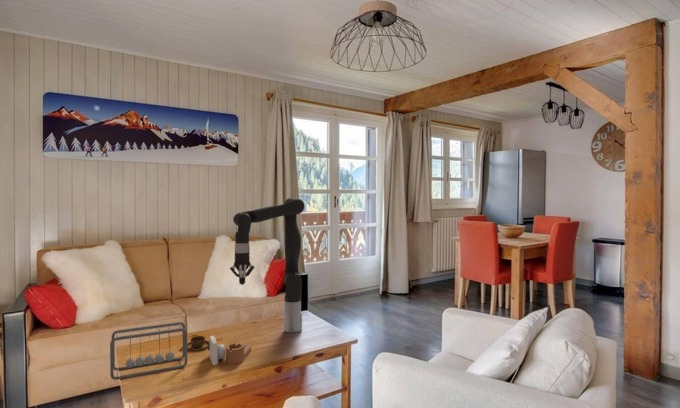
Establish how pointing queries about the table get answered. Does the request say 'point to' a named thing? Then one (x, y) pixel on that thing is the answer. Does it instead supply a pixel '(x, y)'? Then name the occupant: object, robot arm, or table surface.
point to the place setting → (197, 344)
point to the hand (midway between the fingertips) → (242, 284)
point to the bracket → (237, 352)
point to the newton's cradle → (149, 359)
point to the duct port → (216, 351)
